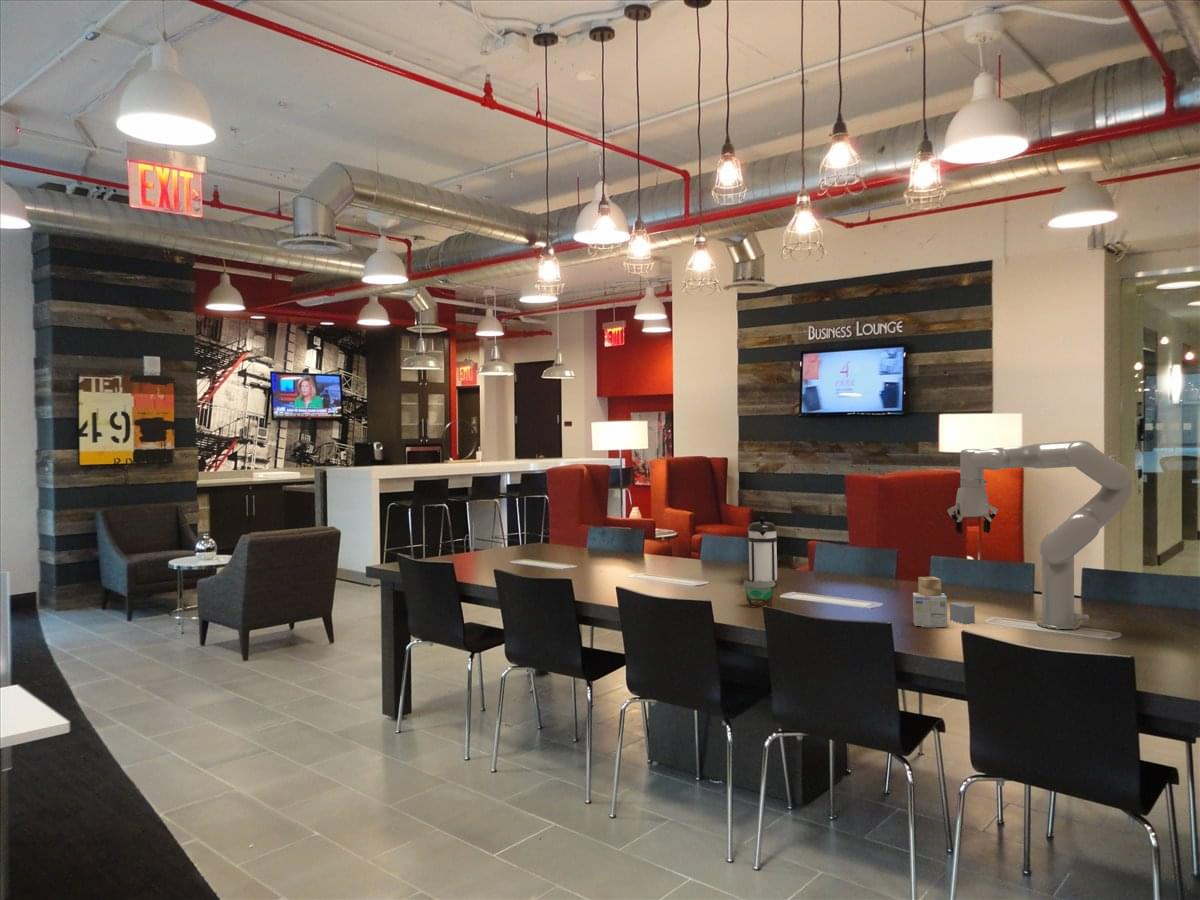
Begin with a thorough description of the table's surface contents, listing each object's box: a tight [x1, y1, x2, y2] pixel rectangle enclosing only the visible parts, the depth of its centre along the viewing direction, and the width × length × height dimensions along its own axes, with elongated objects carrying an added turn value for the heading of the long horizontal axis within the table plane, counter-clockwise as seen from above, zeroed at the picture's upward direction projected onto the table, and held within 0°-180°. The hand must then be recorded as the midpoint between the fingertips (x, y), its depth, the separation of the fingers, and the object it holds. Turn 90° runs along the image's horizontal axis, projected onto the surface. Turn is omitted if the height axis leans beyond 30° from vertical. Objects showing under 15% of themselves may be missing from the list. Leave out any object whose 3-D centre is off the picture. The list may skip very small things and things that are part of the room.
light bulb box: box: [912, 592, 948, 628], centre depth 286 cm, size 11×7×11 cm, turn 75°
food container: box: [743, 579, 776, 608], centre depth 323 cm, size 12×6×10 cm, turn 76°
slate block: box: [949, 601, 976, 625], centre depth 291 cm, size 4×7×6 cm, turn 16°
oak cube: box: [917, 576, 942, 596], centre depth 286 cm, size 6×6×6 cm
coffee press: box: [747, 516, 778, 586], centre depth 370 cm, size 17×16×30 cm
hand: (972, 532), depth 294 cm, fingers open, 9 cm apart
